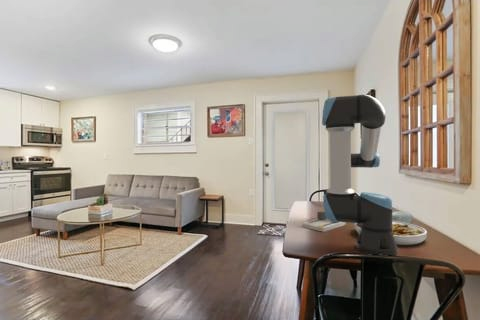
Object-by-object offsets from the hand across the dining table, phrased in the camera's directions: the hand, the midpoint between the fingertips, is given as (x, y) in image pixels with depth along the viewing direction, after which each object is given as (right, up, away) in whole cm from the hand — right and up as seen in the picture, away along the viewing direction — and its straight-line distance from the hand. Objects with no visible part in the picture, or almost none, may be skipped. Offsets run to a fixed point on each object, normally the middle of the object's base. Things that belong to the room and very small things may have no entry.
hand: (342, 217), depth 149 cm
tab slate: (-5, -1, -4) cm, 7 cm away
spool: (+30, -4, -6) cm, 31 cm away
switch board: (-12, -4, -4) cm, 13 cm away
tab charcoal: (-11, -2, +3) cm, 11 cm away
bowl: (+13, -4, -25) cm, 28 cm away
